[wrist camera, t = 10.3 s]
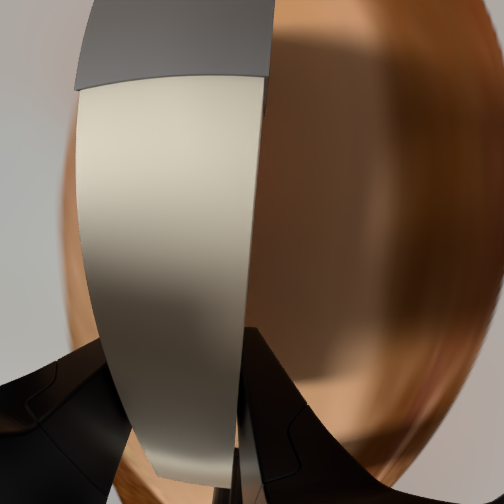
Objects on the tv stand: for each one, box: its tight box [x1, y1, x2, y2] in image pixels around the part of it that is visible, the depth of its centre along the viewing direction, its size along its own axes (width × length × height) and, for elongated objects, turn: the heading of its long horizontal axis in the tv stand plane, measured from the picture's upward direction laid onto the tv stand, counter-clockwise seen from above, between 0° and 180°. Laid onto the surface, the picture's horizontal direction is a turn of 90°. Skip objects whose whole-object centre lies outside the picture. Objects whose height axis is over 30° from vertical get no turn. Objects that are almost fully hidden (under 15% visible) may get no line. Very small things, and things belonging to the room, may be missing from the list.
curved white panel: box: [74, 0, 275, 489], centre depth 6 cm, size 14×3×4 cm, turn 175°
